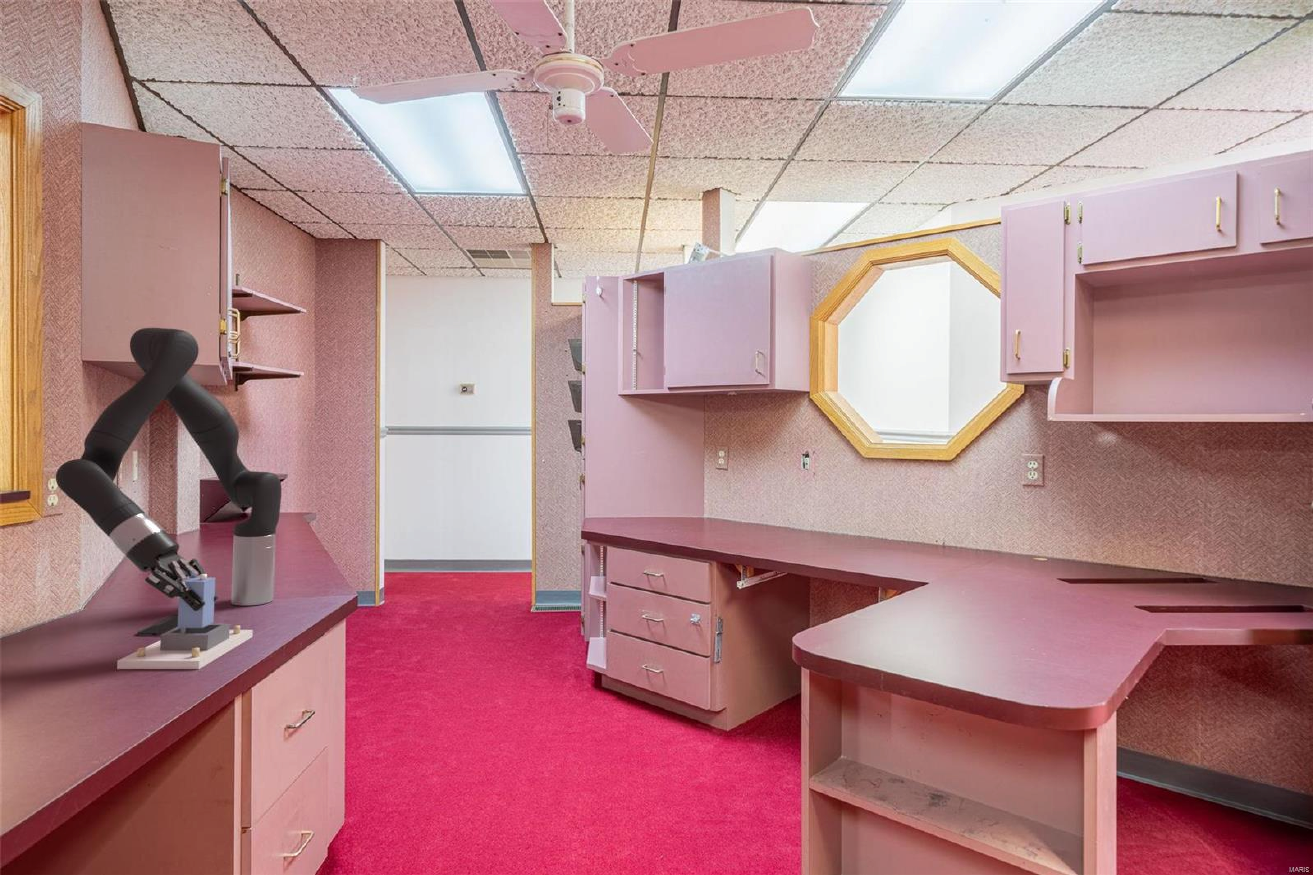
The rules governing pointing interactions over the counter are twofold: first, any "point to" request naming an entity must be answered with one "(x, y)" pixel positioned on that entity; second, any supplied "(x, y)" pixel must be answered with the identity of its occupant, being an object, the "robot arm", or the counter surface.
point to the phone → (160, 627)
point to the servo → (206, 614)
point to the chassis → (186, 648)
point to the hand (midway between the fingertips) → (207, 604)
